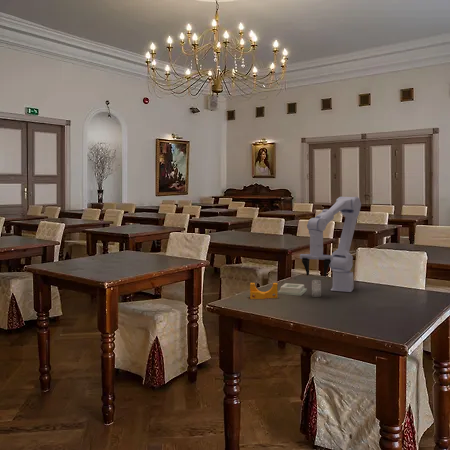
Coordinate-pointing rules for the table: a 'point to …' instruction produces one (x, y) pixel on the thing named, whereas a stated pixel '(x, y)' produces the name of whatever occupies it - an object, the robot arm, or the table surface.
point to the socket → (292, 289)
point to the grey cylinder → (316, 288)
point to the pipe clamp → (262, 295)
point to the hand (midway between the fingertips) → (316, 275)
